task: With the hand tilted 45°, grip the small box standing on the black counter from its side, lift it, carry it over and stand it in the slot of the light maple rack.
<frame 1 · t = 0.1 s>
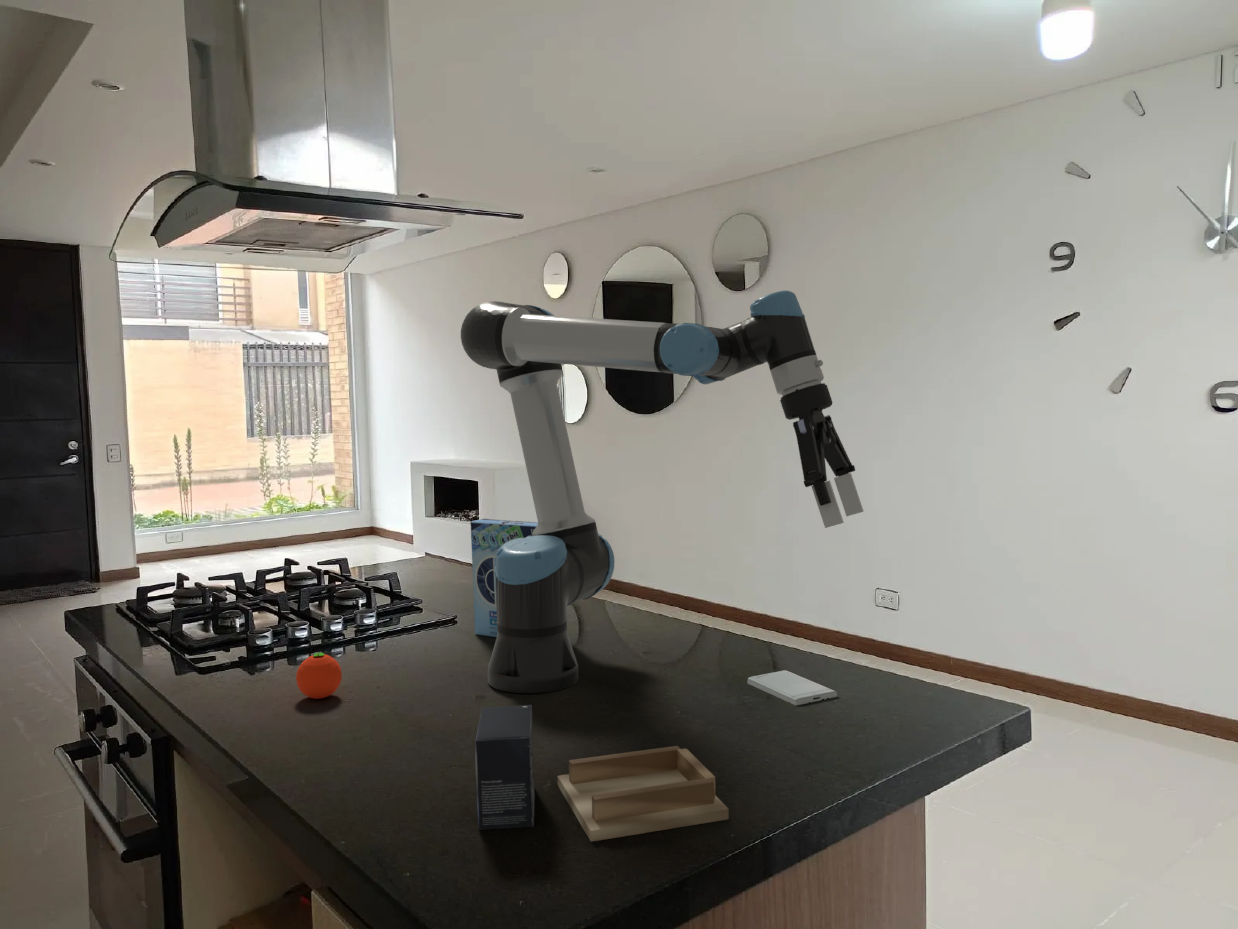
hand: (845, 519, 142), 28 cm above the worktop, tool tilted 20°, fingers open, 13 cm apart
clementine: (320, 697, 147), on the worktop
gum box: (519, 638, 181), on the worktop, touching arm
small box: (507, 809, 107), on the worktop
hard drive: (791, 694, 148), on the worktop
rack: (639, 801, 108), on the worktop
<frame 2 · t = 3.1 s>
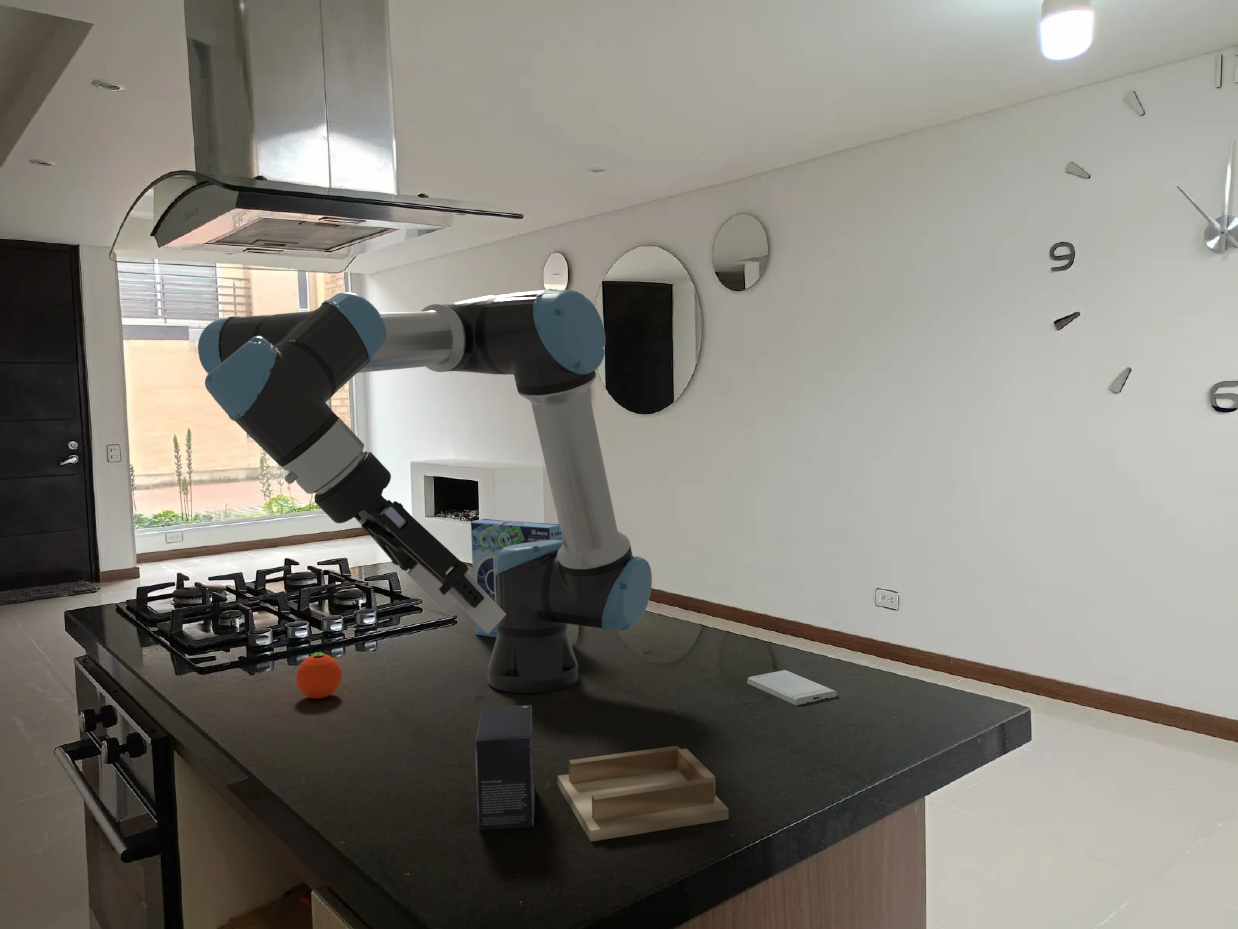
hand: (473, 613, 101), 24 cm above the worktop, tool tilted 40°, fingers open, 13 cm apart
gum box: (519, 639, 181), on the worktop
everything else where it was.
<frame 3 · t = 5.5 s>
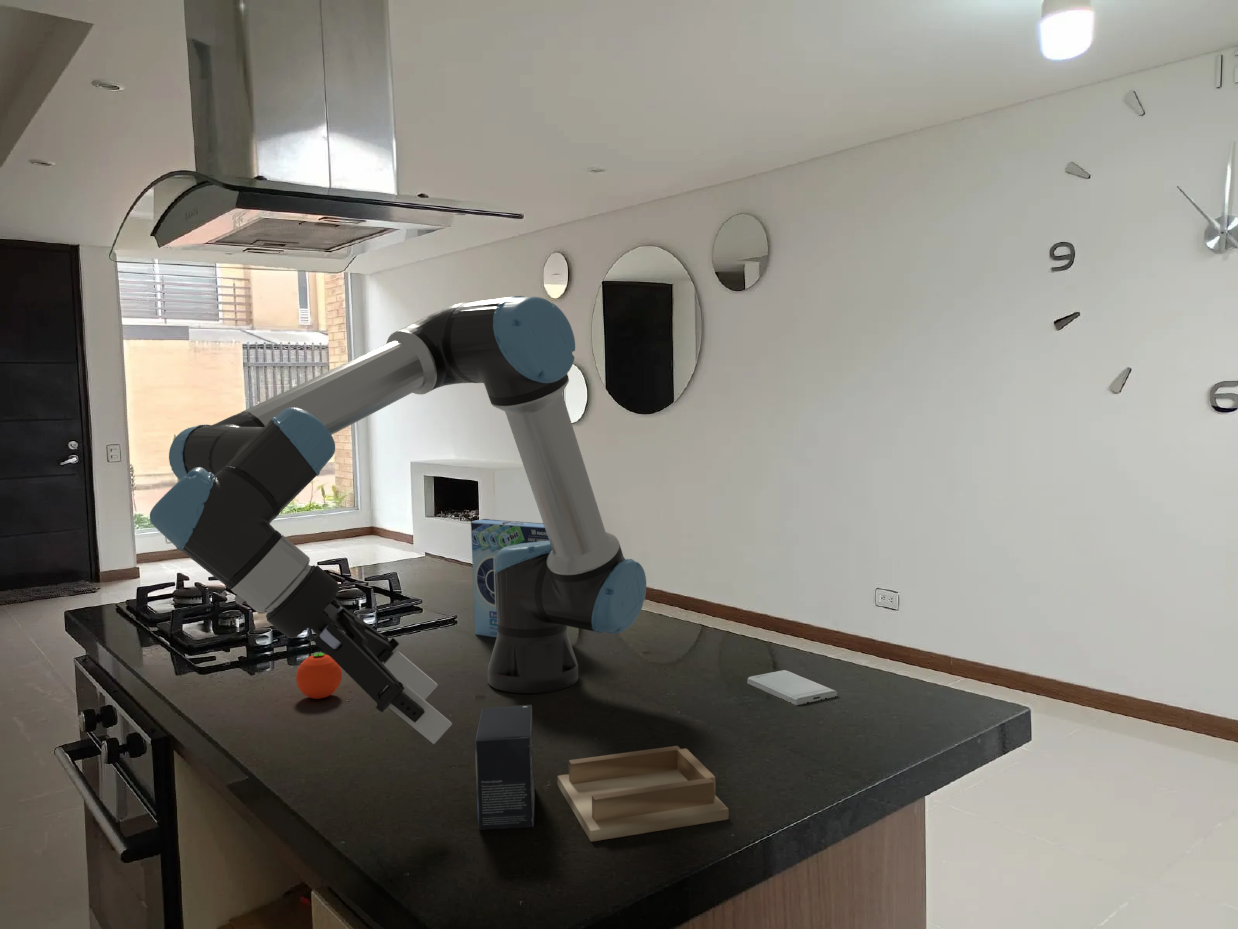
hand: (436, 712, 103), 12 cm above the worktop, tool tilted 45°, fingers open, 13 cm apart
nothing on the worktop moved.
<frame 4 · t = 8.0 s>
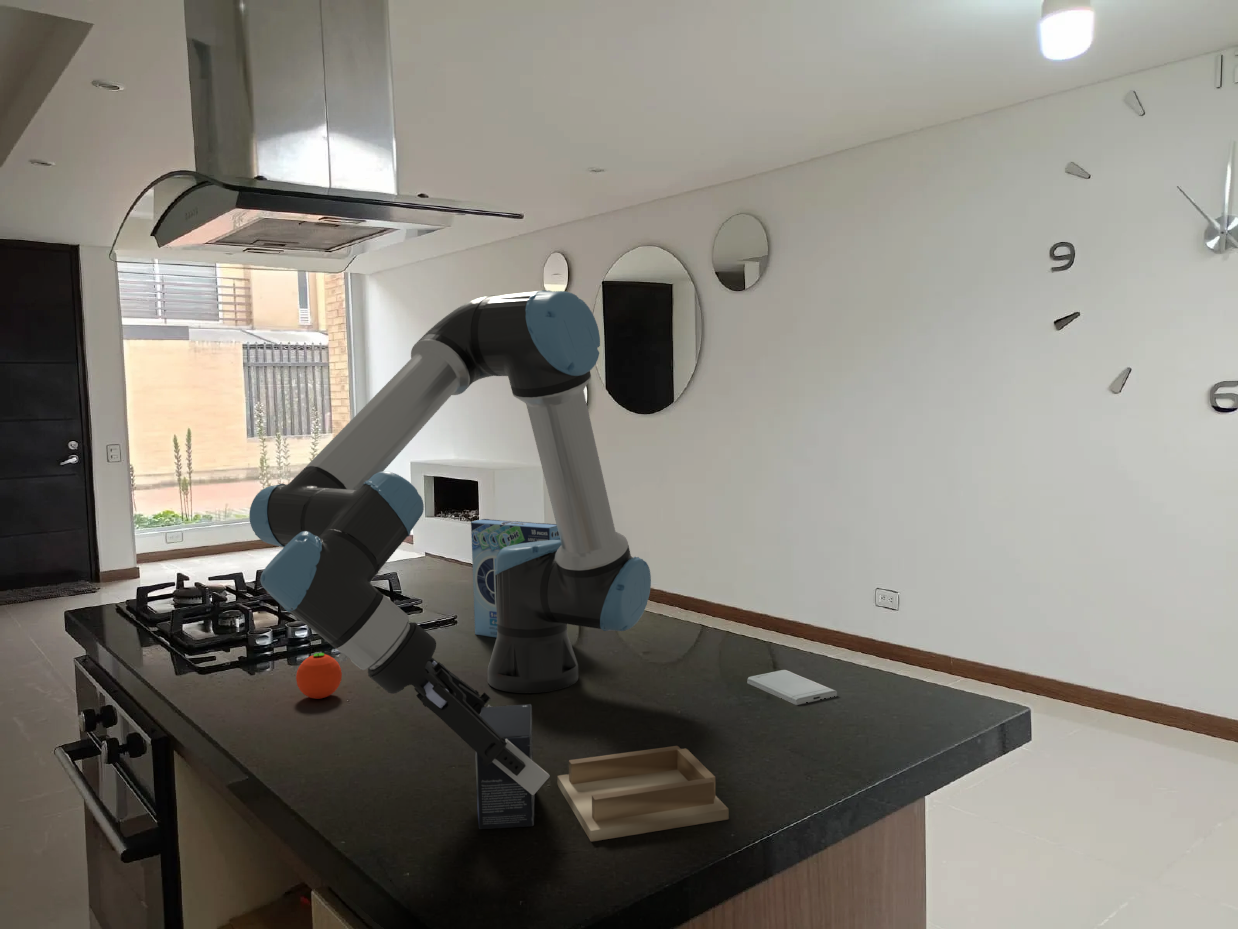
hand: (529, 764, 107), 5 cm above the worktop, tool tilted 45°, fingers closed on small box, 11 cm apart
small box: (506, 809, 107), on the worktop, touching gripper
everything else where it was.
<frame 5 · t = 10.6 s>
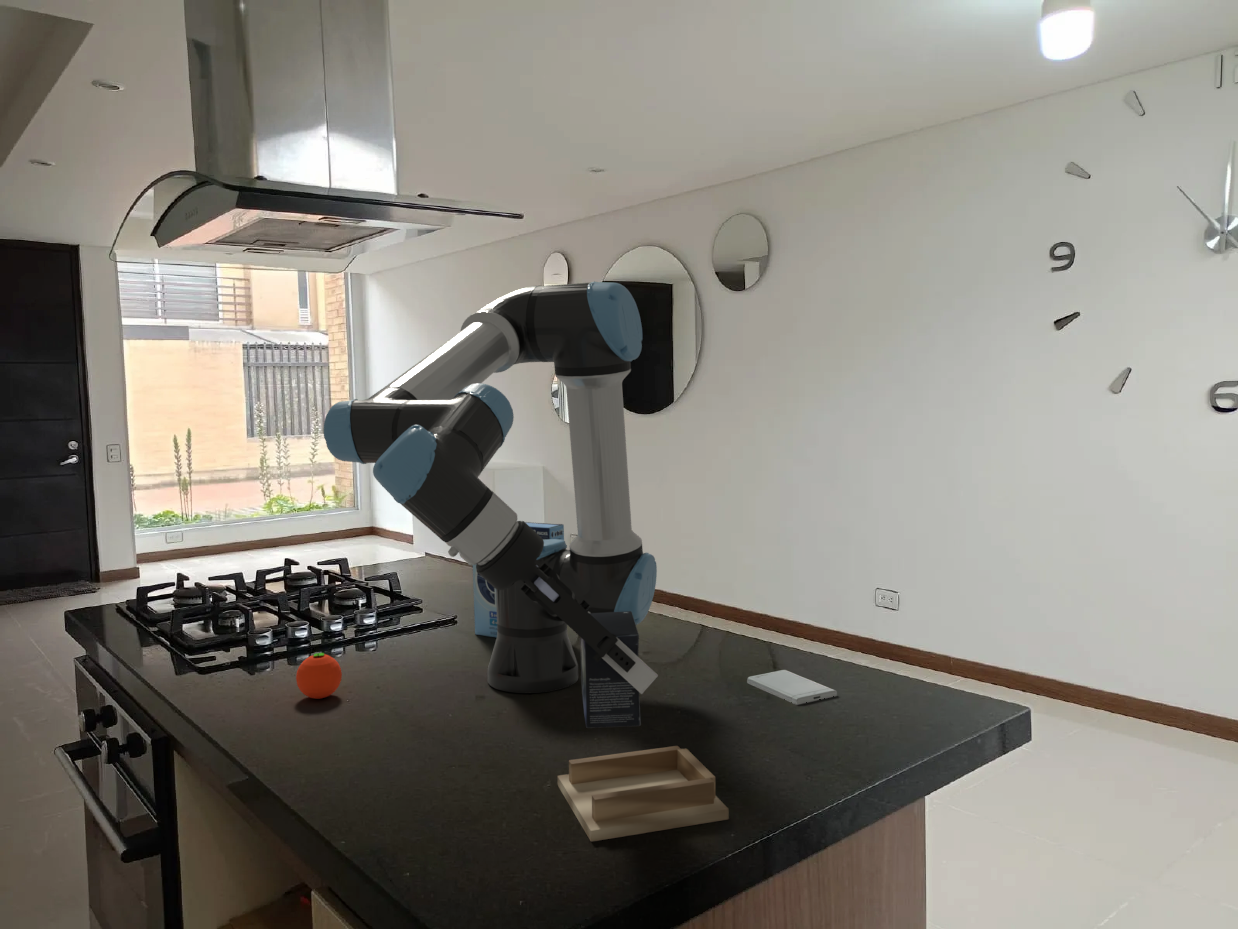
hand: (633, 668, 106), 16 cm above the worktop, tool tilted 45°, fingers closed on small box, 11 cm apart
small box: (609, 713, 106), point 11 cm above the worktop, touching gripper
everything else where it was.
when the fingers open (8 cm above the worktop, at t = 13.1 s): small box stays where it is, resting on rack.
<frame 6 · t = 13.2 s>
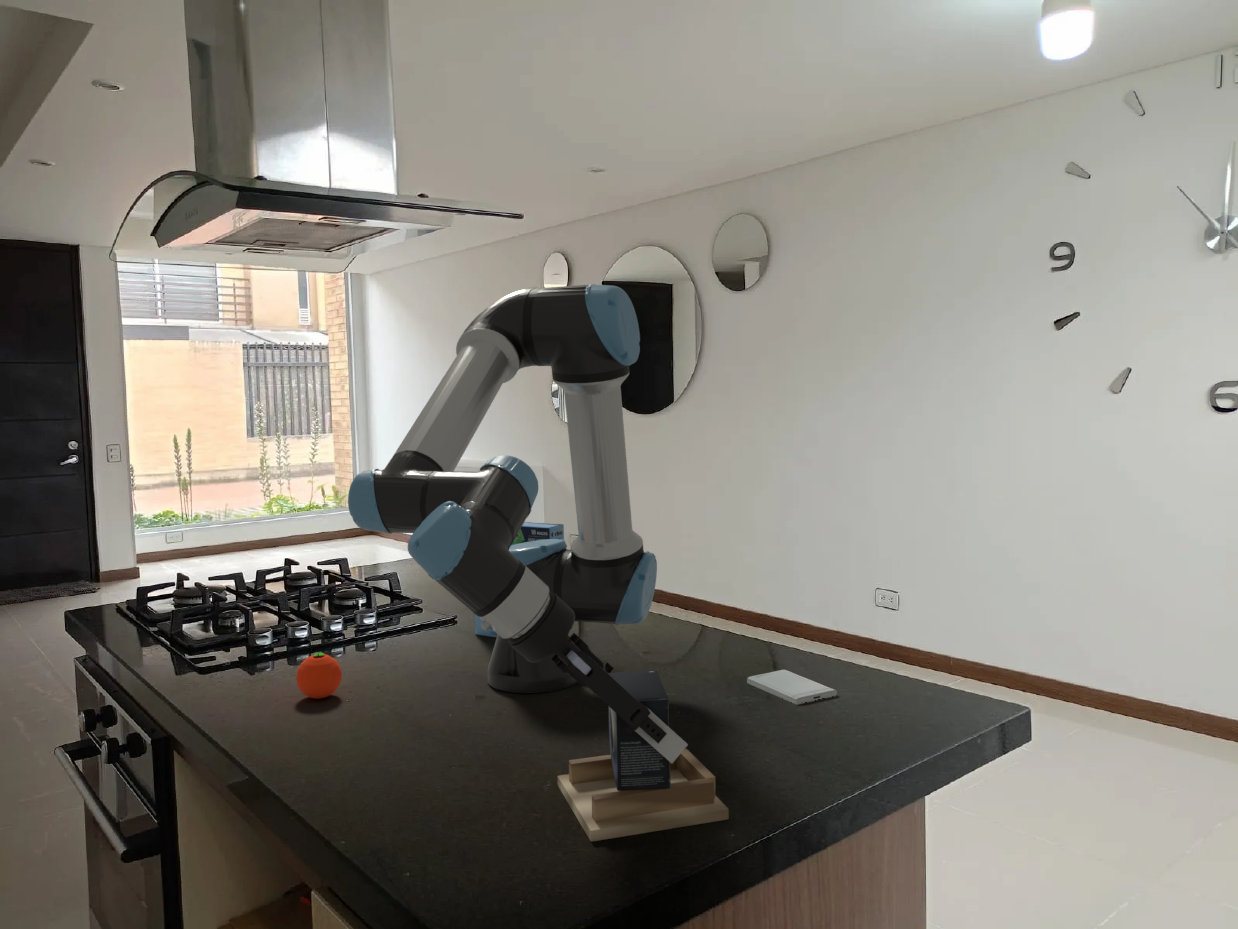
hand: (659, 733, 108), 8 cm above the worktop, tool tilted 45°, fingers open, 12 cm apart
small box: (638, 773, 107), point 3 cm above the worktop, touching rack
everything else where it was.
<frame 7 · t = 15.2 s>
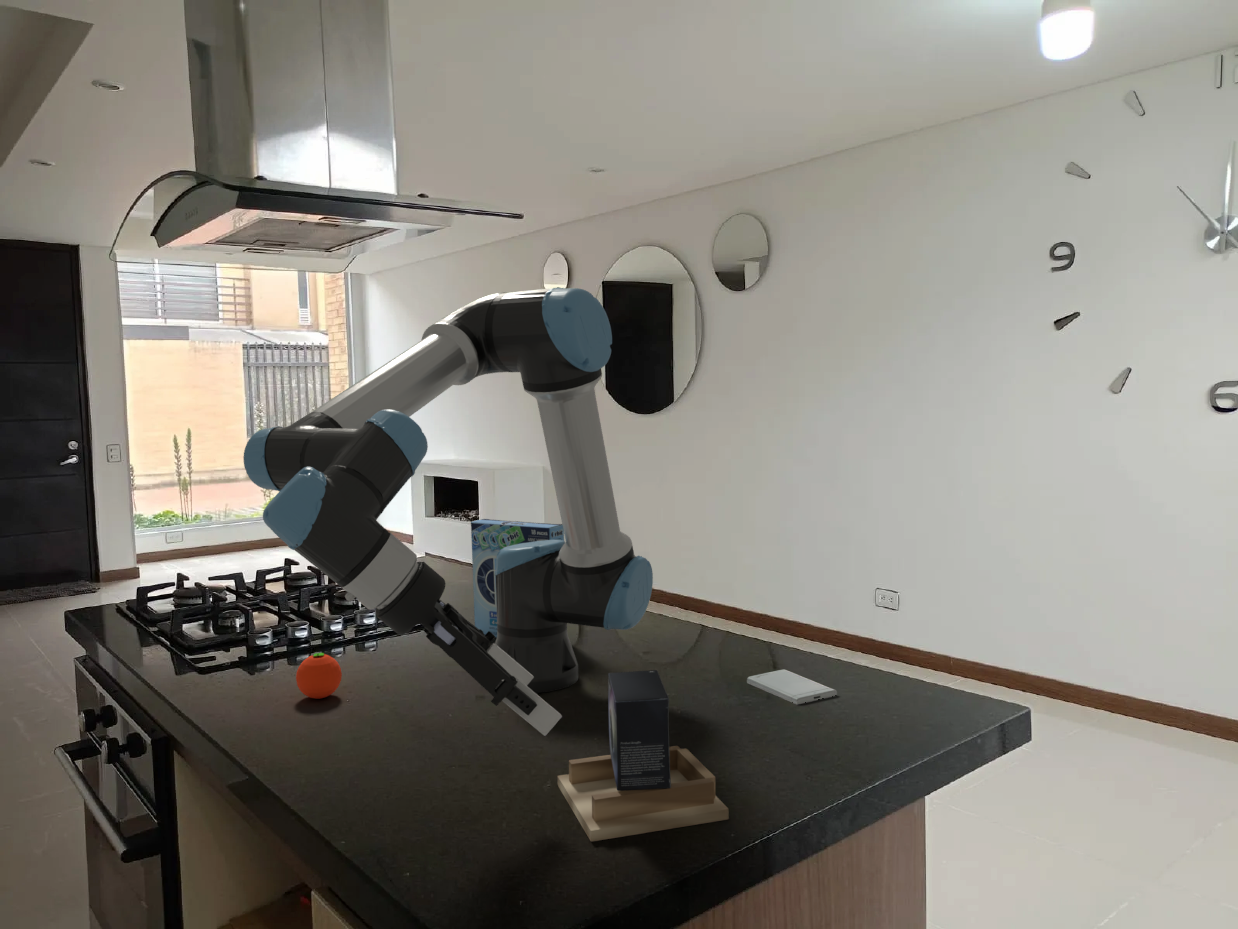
hand: (538, 704, 104), 13 cm above the worktop, tool tilted 45°, fingers open, 13 cm apart
nothing on the worktop moved.
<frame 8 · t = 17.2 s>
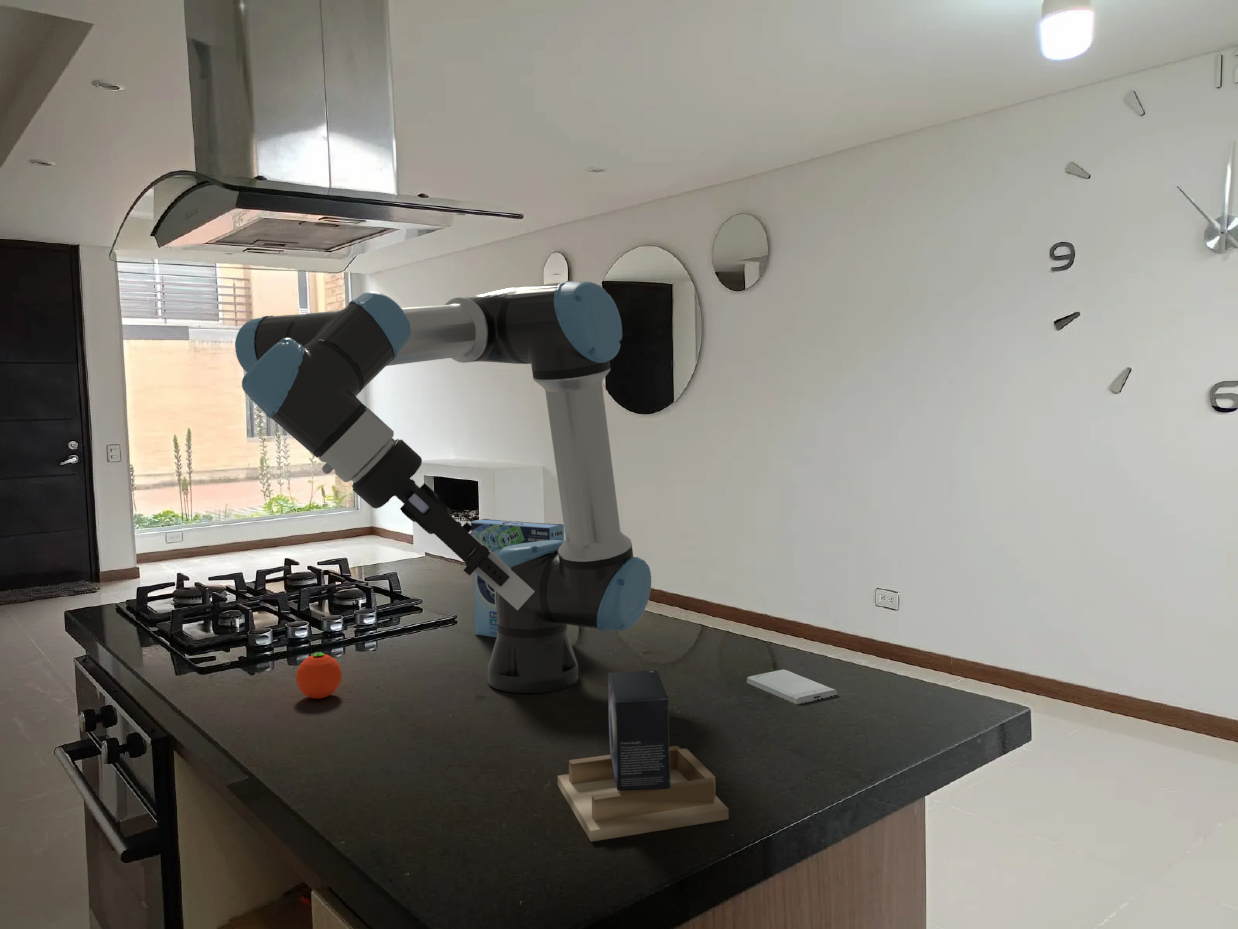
hand: (513, 588, 105), 26 cm above the worktop, tool tilted 45°, fingers open, 13 cm apart
nothing on the worktop moved.
at the end: small box inside the target area on the rack (0.1 cm from its centre), point 3.5 cm above the rack's base; small box tilted 0°; the gripper is holding nothing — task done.
